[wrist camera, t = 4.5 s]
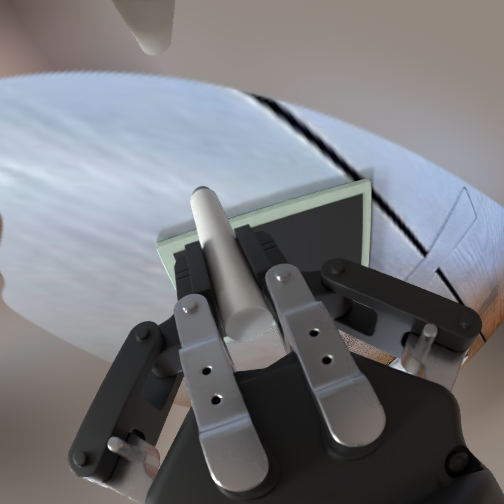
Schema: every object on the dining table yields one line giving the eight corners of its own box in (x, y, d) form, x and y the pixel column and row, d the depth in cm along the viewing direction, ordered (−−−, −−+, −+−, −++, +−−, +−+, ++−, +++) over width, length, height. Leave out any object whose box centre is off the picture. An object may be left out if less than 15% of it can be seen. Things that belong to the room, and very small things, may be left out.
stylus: (185, 188, 19) (218, 317, 9) (211, 179, 19) (269, 299, 9) (193, 210, 20) (231, 347, 10) (217, 202, 20) (276, 332, 10)
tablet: (155, 243, 26) (155, 248, 26) (366, 177, 29) (372, 181, 28) (205, 343, 36) (206, 349, 35) (363, 284, 38) (366, 288, 37)
